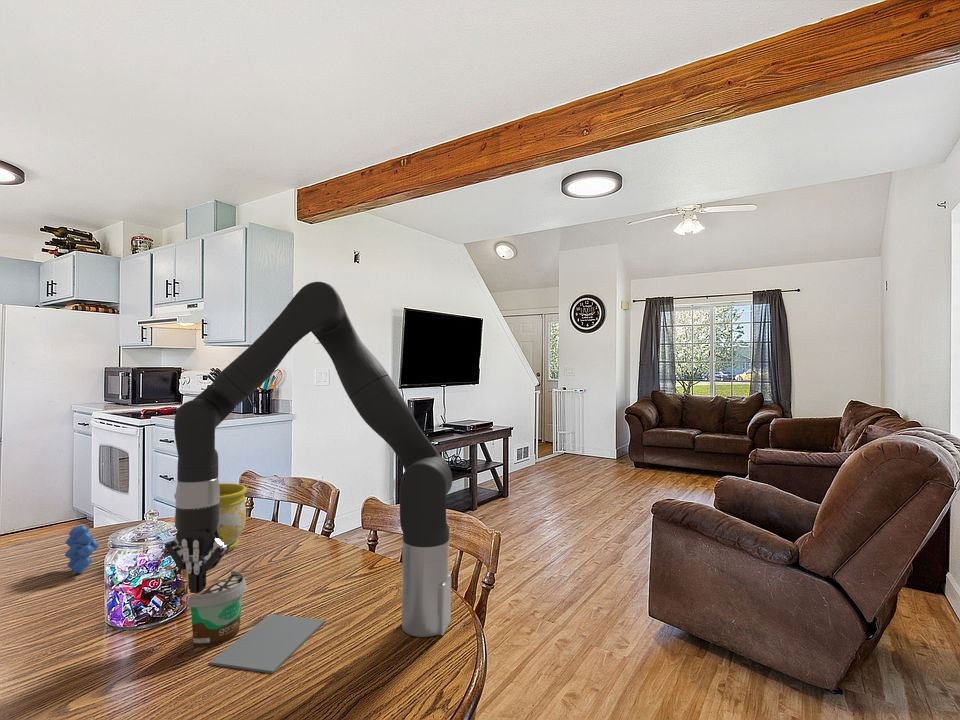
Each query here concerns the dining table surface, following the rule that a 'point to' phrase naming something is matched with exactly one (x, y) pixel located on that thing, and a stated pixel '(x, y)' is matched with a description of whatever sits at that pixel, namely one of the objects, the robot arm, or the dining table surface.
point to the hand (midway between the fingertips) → (196, 591)
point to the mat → (268, 643)
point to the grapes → (80, 548)
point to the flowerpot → (231, 513)
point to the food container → (217, 611)
